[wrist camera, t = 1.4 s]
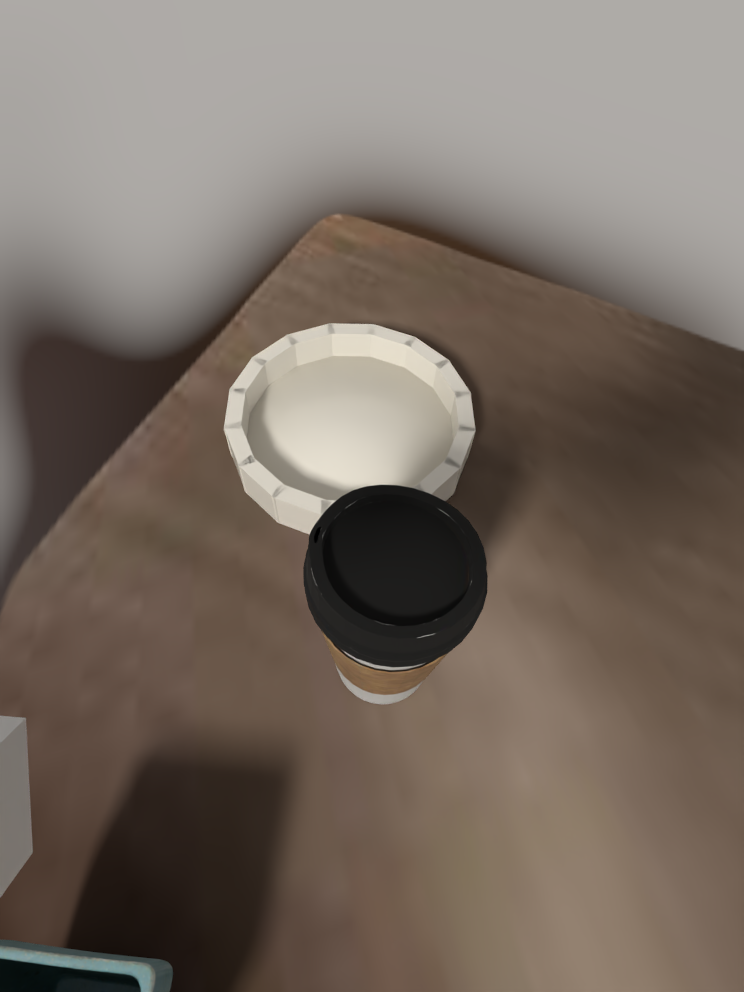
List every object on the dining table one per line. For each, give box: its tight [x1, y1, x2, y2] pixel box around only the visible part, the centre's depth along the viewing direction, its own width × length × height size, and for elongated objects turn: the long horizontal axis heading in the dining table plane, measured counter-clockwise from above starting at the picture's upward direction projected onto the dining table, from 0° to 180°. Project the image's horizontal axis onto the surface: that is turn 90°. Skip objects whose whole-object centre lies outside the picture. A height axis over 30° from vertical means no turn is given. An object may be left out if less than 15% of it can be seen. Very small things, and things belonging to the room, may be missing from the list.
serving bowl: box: [224, 323, 476, 535], centre depth 46 cm, size 18×18×4 cm
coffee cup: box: [303, 485, 487, 704], centre depth 32 cm, size 8×8×15 cm
